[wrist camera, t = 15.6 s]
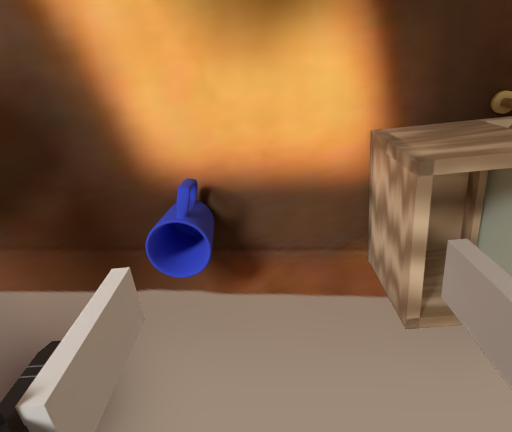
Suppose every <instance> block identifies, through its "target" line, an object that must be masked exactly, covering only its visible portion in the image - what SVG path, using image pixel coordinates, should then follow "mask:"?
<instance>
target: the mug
mask: <svg viewBox="0 0 512 432" xmlns="http://www.w3.org/2000/svg"><path fill="white" fill-rule="evenodd" d="M196 195H197V181H196V180H195V179H186V180H185V181H183V183H182V184H181V185H180V186H179V187H178V192H177V203H175V204H174V205H173V206H172V207H171V208H170V209H169V210H168V211H167V212H166V214H165V215H164V216H163V217H162V218H161V219H160V221H159V222H158V223H157V224H156V225H155V226H154V228H153V229H152V230H151V231H150V233H149V234H148V237H147V239H146V253H147V256H148V258H149V260H150V262H151V263H152V264H153V266H154V267H155V268H156V269H158V270H159V271H161V272H162V273H164V274H166V275H169V276H172V277H177V278H186V277H191V276H194V275H196V274H198V273H200V272H201V271H202V270H203V269H204V268H205V267H206V266H207V265H208V263H209V261H210V258H211V254H212V244H213V233H214V218H213V214H212V212H211V211H210V209H209V208H208V207H207V206H206V205H205V204H204V203H202V202H200V201H197V200H196Z"/></svg>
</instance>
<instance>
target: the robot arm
mask: <svg viewBox="0 0 512 432" xmlns="http://www.w3.org/2000/svg"><path fill="white" fill-rule="evenodd" d="M441 297H442V298H443V300H444V301H445V302H446V304H447V305H448V306H449V308H450V309H451V310H452V312H453V313H454V314H455V315H456V317H457V318H458V319H459V321H460V322H461V323H462V325H463V326H464V327H465V329H466V330H467V331H468V333H469V334H470V335H471V337H472V338H473V339H474V340H475V342H476V343H477V344H478V346H479V347H480V348H481V349H482V351H483V352H484V354H485V355H486V356H487V357H488V359H489V360H490V362H491V363H492V364H493V365H494V367H495V368H496V369H497V370H498V372H499V373H500V375H501V376H502V377H503V379H504V380H505V381H506V382H507V384H508V385H509V386H510V388H511V389H512V277H511V276H510V275H509V274H508V273H506V272H505V271H504V270H503V269H502V268H501V267H499V266H498V265H497V264H496V263H495V262H494V261H493V260H491V259H490V258H489V257H488V256H487V255H486V254H485V253H483V252H482V251H481V250H480V249H479V248H478V247H477V246H475V245H474V244H473V243H472V242H471V241H470V240H468V239H456V240H448V244H447V252H446V260H445V269H444V277H443V285H442V294H441ZM143 322H144V317H143V313H142V310H141V306H140V302H139V299H138V295H137V292H136V288H135V284H134V281H133V277H132V274H131V270H130V267H127V268H115V269H111V271H110V272H109V274H108V275H107V277H106V278H105V279H104V281H103V282H102V284H101V285H100V287H99V288H98V289H97V291H96V292H95V294H94V295H93V297H92V298H91V299H90V301H89V302H88V304H87V305H86V307H85V308H84V309H83V311H82V312H81V314H80V315H79V317H78V318H77V319H76V321H75V322H74V324H73V325H72V327H71V328H70V329H69V331H68V332H67V334H66V335H65V336H64V338H63V339H62V341H52V342H51V343H49V344H48V345H47V346H46V347H45V348H43V349H42V350H41V351H40V352H38V354H37V355H36V356H35V358H34V359H33V360H32V362H31V363H30V364H29V367H28V368H26V370H25V371H24V372H23V374H22V375H21V378H20V379H18V380H17V382H16V383H15V384H14V386H13V387H12V388H11V389H10V391H9V392H8V394H7V395H6V396H5V397H4V399H3V400H2V402H1V403H0V432H95V430H96V428H97V426H98V424H99V421H100V419H101V417H102V415H103V412H104V410H105V407H106V405H107V403H108V401H109V399H110V396H111V394H112V392H113V390H114V387H115V385H116V383H117V380H118V378H119V376H120V373H121V371H122V369H123V367H124V365H125V362H126V360H127V358H128V355H129V353H130V351H131V349H132V346H133V344H134V342H135V339H136V337H137V335H138V333H139V331H140V328H141V326H142V324H143Z"/></svg>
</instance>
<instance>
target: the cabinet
mask: <svg viewBox="0 0 512 432" xmlns="http://www.w3.org/2000/svg"><path fill="white" fill-rule="evenodd" d="M490 107H491V109H492V111H494V112H496V113H500V114H505V113H508V112H509V111H511V110H512V92H511V91H505V90H503V91H500V92H498V93H496V94H495V95H494V96H493V97H492V99H491V102H490ZM511 125H512V116H509V117H499V118H489V119H479V120H469V121H459V122H449V123H439V124H429V125H419V126H410V127H400V128H390V129H380V130H371V147H370V193H369V238H368V260H369V262H370V264H371V266H372V268H373V269H374V271H375V273H376V275H377V277H378V279H379V281H380V282H381V284H382V286H383V288H384V290H385V292H386V294H387V295H388V297H389V299H390V301H391V303H392V305H393V307H394V308H395V310H396V312H397V314H398V316H399V318H400V319H401V321H402V323H403V325H404V327H405V329H416V328H429V327H443V326H456V325H462V323H461V322H460V321H459V319H458V318H457V317H456V315H455V314H454V313H453V312H452V310H451V309H450V308H449V306H448V305H447V304H446V302H445V301H444V300H443V298H442V297H441V294H442V285H443V277H444V269H445V260H446V252H447V244H448V240H456V239H468V240H470V241H471V242H472V243H473V244H474V245H475V246H477V240H478V234H479V228H480V221H481V215H482V208H483V202H484V195H485V189H486V183H487V176H488V170H493V169H504V168H512V129H509V126H511Z"/></svg>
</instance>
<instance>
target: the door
mask: <svg viewBox="0 0 512 432" xmlns="http://www.w3.org/2000/svg"><path fill="white" fill-rule="evenodd" d="M509 129H512V125H511V126H509ZM477 247H478V248H479V249H480V250H481V251H482V252H483V253H485V254H486V255H487V256H488V257H489V258H490V259H491V260H493V261H494V262H495V263H496V264H497V265H498V266H499V267H501V268H502V269H503V270H504V271H505V272H506V273H508V274H509V275H510V276H511V277H512V168H504V169H493V170H488V176H487V183H486V189H485V195H484V202H483V208H482V215H481V221H480V228H479V234H478V240H477Z"/></svg>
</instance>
